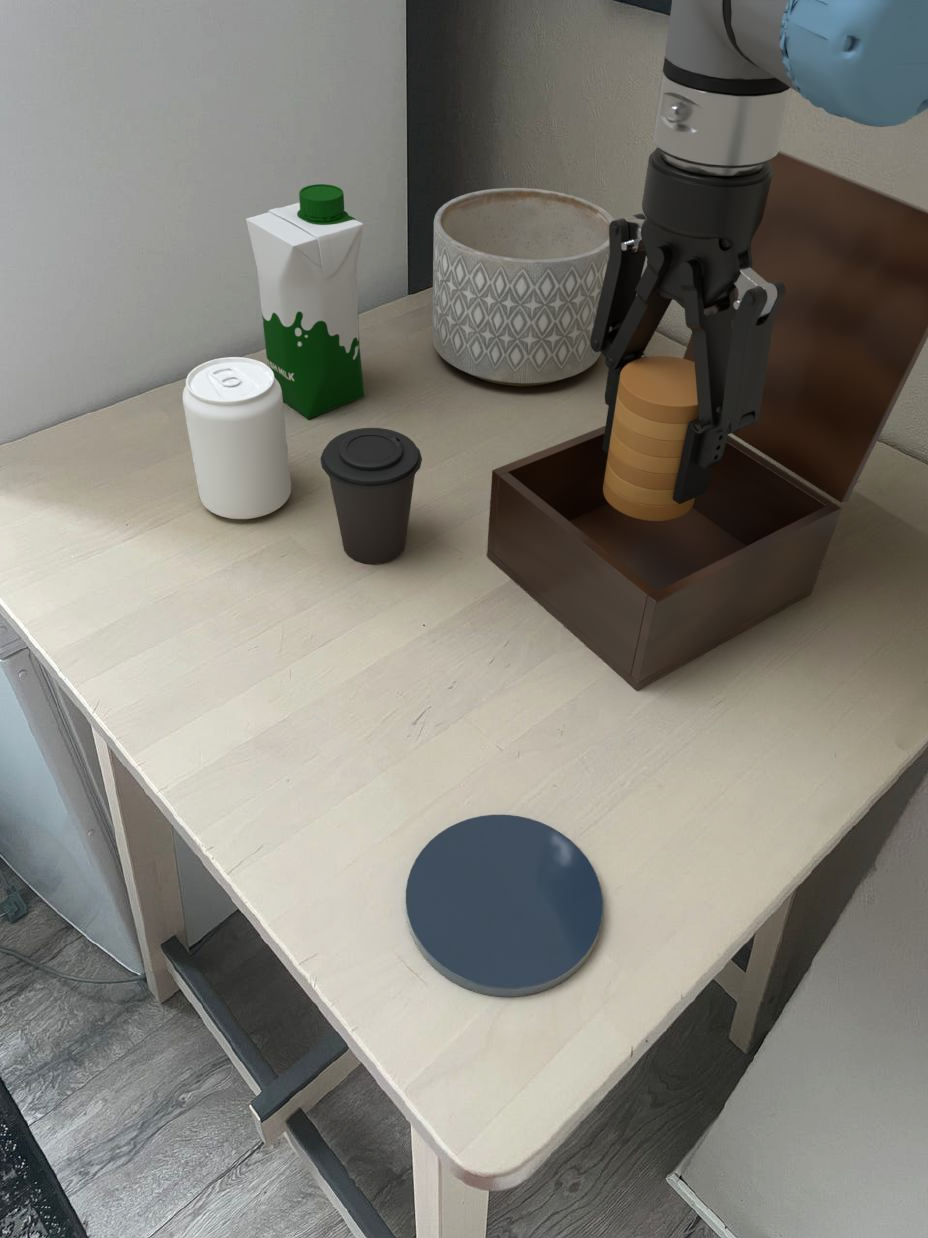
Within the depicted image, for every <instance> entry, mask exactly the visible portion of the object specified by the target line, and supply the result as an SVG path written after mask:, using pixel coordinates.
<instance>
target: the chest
mask: <svg viewBox="0 0 928 1238" xmlns="http://www.w3.org/2000/svg"><path fill="white" fill-rule="evenodd" d="M605 427H606V425H604V426H600V427H598V428H596V429H594V430H590V431H588V432H586V433H582V434H581V435H578V436H576V437H573V438H569V439H568V440H565V441H563V442H560V443H558V444H556V445H553V446H550V447H548V448H545V449H542V450H540V451H538V452H535V453H533V454H530V455H527V456H525V457H522V458H520V459H517V460H515V461H511V462H509V463H507V464H505V465H502V466H500V467H497V468H495V469H492V471H491V484H490V485H491V486H490V501H489V502H490V503H489V516H488V530H487V532H488V533H487V546H486V547H487V549H486V557H487V558H488V559H489V560H490V561H491V562H492V563H494V564H495V566H497V567H498V568H499V569H500V570H502V572H503V573H505V575H507V576H508V577H509V578H510V579H511V580H513V581H514V582H515V583H516V584H517V585H518V586H519V587H520V588H522V590H524V592H526V593H527V594H528V595H529V596H530V597H531V598H533V599H534V601H536V602H537V603H538V604H539V605H541V606H542V607H543V608H544V609H545V610H546V611H547V612H548V613H550V615H551V616H553V617H554V619H556V620H557V621H558V622H559V623H561V624H562V626H564V627H565V628H566V629H567V630H568V631H569V632H571V633H572V634H573V635H574V636H575V637H576V638H577V639H578V640H579V641H581V642H582V643H583V644H584V645H585V646H586V647H587V648H588V649H589V650H590V651H592V652H593V653H594V654H595V655H596V656H597V657H598V658H600V660H602V661H603V662H604V663H605V664H606V665H607V666H609V667H610V668H611V670H613V671H614V672H615V673H616V674H617V675H619V676H620V678H622V679H623V680H624V681H625V682H627V684H628V685H630V686H631V687H632V688H633V689H634V690H635V691H639V690H641V689H643V688H645V687H647V686H648V685H650V684H652V683H654V682H656V681H658V680H659V679H661V678H662V677H664V676H666V675H668V674H669V673H671V672H674V671H675V670H677V669H678V668H680V667H683V666H684V665H686V664H688V663H690V662H691V661H693V660H695V659H697V658H698V657H700V656H702V655H704V654H706V653H708V652H710V651H711V650H713V649H715V648H716V647H718V646H721V645H722V644H724V643H725V642H727V641H729V640H731V639H732V638H735V637H737V636H738V635H740V634H742V633H743V632H745V631H746V630H749V629H750V628H753V627H755V626H756V625H758V624H760V623H762V622H763V621H765V620H767V619H768V618H771V617H772V616H774V615H775V614H777V613H779V612H781V611H783V610H784V609H786V608H788V607H790V606H792V605H794V604H795V603H797V602H799V601H801V600H802V599H804V598H806V597H808V596H810V595H811V594H813V591H814V589H815V585H816V583H817V580H818V577H819V574H820V571H821V568H822V566H823V563H824V560H825V558H826V554H827V551H828V549H829V546H830V544H831V540H832V538H833V535H834V532H835V530H836V527H837V523H838V521H839V518H840V515H841V512H842V510H843V507H842V506H840V505H838V504H837V503H836V502H834V501H833V500H831V499H830V498H828V497H826V496H825V495H823V494H822V493H820V492H818V491H817V490H816V489H814V488H813V487H811V486H809V485H807V484H806V483H805V482H803V481H801V480H800V479H798V478H797V477H795V476H794V475H792V474H790V473H789V472H787V471H785V470H783V469H782V468H781V467H779V466H778V465H776V464H775V463H773V462H771V461H770V460H768V459H766V458H765V457H764V456H762V455H761V454H758V453H757V452H755V451H754V450H752V449H751V448H749V447H748V446H746V445H745V444H743V443H741V442H740V441H738V440H736V439H735V438H734V437H732V436H730V434H728V436H727V440H726V444H725V449H724V451H723V452H724V453H723V457H722V459H721V461H720V462H719V463H717V464H715V465H713V466H712V469H711V473H710V478H709V482H708V486H707V490H706V493H704V494H702V495H699V496H697V497H695V500H694V504H693V506H692V508H691V509H690V510H689V511H688V512H687V513H685V514H684V515H682V516H680V517H678V518H675V519H671V520H665V521H648V520H641V519H637V518H633V517H630V516H628V515H625V514H623V513H621V512H620V511H618V510H616V509H615V508H614V507H613V506H611V505H610V504H609V502H608V501H607V500H606V498H605V496H604V493H603V485H604V478H605V472H606V465H607V459H608V453H606V452H605V451H603V450H602V447H603V440H604V433H605Z"/></svg>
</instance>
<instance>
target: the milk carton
mask: <svg viewBox="0 0 928 1238" xmlns="http://www.w3.org/2000/svg"><path fill="white" fill-rule="evenodd" d="M298 192H299V193H298V197H299V198H298V199H299V202H296V203H293V204H289V205H286V206H282V207H275V208H271V209H269V210H268V211H267V212H265V213H261V214H258V215H254V216H251V217H247V218H245V222H246V226H247V230H248V234H249V238H250V243H251V248H252V252H253V257H254V262H255V265H256V272H257V280H258V281H257V282H258V289H259V299H260V308H261V316H262V327H263V337H264V345H265V354H266V365H267V366H268V367H270V369H271V370H272V371H273V373H274V377H275V378H276V380H277V381H278V382H279V384H280V386H281V390H282V398H283V403H285V404H286V405H287V406H289V407H290V408H292V409H293V410H294V411H296V412H298V413H299V414H300V415H302V416H303V417H305V418H306V419H307V420H310V419H313V418H315V417H318V416H320V415H322V414H325V413H327V412H330V411H332V410H335V409H337V408H340V407H341V406H344V405H346V404H349V403H352V402H354V401H356V400H359V399H361V398H364V397H365V387H364V377H363V376H364V375H363V368H362V367H363V366H362V357H361V345H360V344H361V343H360V321H359V320H360V319H359V294H358V293H359V291H358V260H359V254H360V249H361V243H362V236H363V230H364V223H362V222H361V221H358V220H357V219H356V218H355V217H353V216H352V215H349V213H348V212H347V211H345V198H344V191H343V189H341V187H339V186H336V185H332V184H326V183H318V184H310V185H307V186H304V187H302V188H301V189H300V190H299V191H298Z"/></svg>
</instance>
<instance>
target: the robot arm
mask: <svg viewBox="0 0 928 1238" xmlns="http://www.w3.org/2000/svg"><path fill="white" fill-rule="evenodd" d="M662 65H663V66H662V67H663V68H662V71H661V78H660V84H659V91H658V99H657V106H656V112H655V120H654V127H653V132H652V142H653V144H654V145H655V147H656V148H655V149H654V150H653V151H652V152H651V153H650V155H649V156H648V160H647V167H646V174H645V182H644V186H643V187H644V188H643V195H642V201H641V210H642V212H643V213H636V214H633V215H628V216H625V217H622V218H618V219H614V221H612V222H611V223H610V225H609V249H610V255H609V259H608V264H607V268H606V272H605V277H604V281H603V286H602V290H601V295H600V299H599V304H598V308H597V312H596V317H595V321H594V326H593V330H592V335H591V339H590V345H591V348H592V350H593V351H595V352H600V351H601V354H602V355H603V357H605V359H604V363H605V366H606V368H607V376H606V385H605V391H604V403H605V405H606V406H608V407H607V412H606V421H605V426H606V427H605V433H604V440H603V447H602V450H603V451H605V452H606V453H608V452H609V445H610V439H611V432H612V426H613V419H614V412H615V406H616V399H617V393H618V386H619V379H620V374H621V371H622V369H623V368H624V367H625V366H626V365H627V364H628V363H630V362H632V361H634V360H637V359H640V358H644V357H648V355H646V353H644V352H645V351H646V349H647V347H648V345H649V343H650V341H651V340H652V338H653V336H654V334H655V333H656V330H657V328H658V327H659V325H660V323H661V322H662V319H663V318H664V316H665V314H666V312H667V310H668V308H669V307H670V305H671V304H672V301H675V302H676V303H677V304H678V305H679V306H680V307H681V308H683V309H684V320H685V326H686V327H687V328H688V329H689V330H691V335H692V338H693V350H694V363H695V375H696V388H697V400H698V413H699V418H698V419H695V420H693V421H691V422H688V427H687V432H686V437H685V442H684V446H683V451H682V456H681V461H680V466H679V470H678V475H677V480H676V485H675V490H674V494H673V500H674V501H675V502H677V503H678V504H682V503H684V502H686V501H688V500H691V499H693V498H695V497H697V496H699V495H702V494H704V493H706V490H707V486H708V482H709V478H710V473H711V469H712V466H713V465H715V464H717V463H719V462H720V461H721V459H722V457H723V453H724V452H723V451H724V449H725V444H726V440H727V436H728V435H731V434H732V433H734V432H736V431H738V430H741V429H743V428H746V427H748V426H750V425H753V424H755V423H757V422H758V420H759V415H760V409H761V402H762V395H763V388H764V382H765V375H766V368H767V361H768V354H769V348H770V341H771V334H772V327H773V321H774V317H775V315H776V313H777V311H778V309H779V307H780V305H781V303H782V301H783V298H784V296H785V293H786V288H785V285H784V284H783V282H781V281H779V280H776V281H773V282H770V283H768V282H767V281H765V280H764V279H763V278H762V277H761V276H759V275H758V274H757V273H756V272H755V271H754V270H752V257H751V241H752V238H753V236H754V234H755V232H756V230H757V229H758V227H759V225H760V223H761V221H762V219H763V215H764V211H765V206H766V202H767V197H768V193H769V189H770V184H771V180H772V176H773V168H772V166H771V164H770V162H769V160H771V159H772V158H774V157H775V156H776V155H777V154H778V152H779V151H780V148H781V143H782V138H783V135H784V129H785V125H786V122H787V121H786V120H787V117H788V112H789V107H790V102H791V97H792V94H793V93H792V92H793V91H795V92H797V93H798V94H800V96H801V97H802V98H803V99H804V100H808V101H809V102H810V104H811V105H812V106H813V107H815V108H820V109H821V108H822V109H823V110H824V111H825V112H826V113H827V114H829V115H831V116H835V117H839V118H845V119H847V120H849V121H852V122H855V123H857V124H858V125H859V124H860V125H863V126H867V127H875V128H876V127H877V128H885V127H895V126H900V125H902V124H906V123H907V122H909V121H910V120H913V118H914V117H916V116H918V115H920V114H921V113H923V112H924V111H926V110H928V0H671V8H670V13H669V20H668V29H667V35H666V44H665V51H664V59H663V64H662ZM645 262H646V267H645ZM644 267H645V269H644ZM735 288H737V289H738V300H735ZM715 305H716V306H715ZM712 306H715V308H714V309H711V310H708V311H705V312H704V309H707V308H710V307H712ZM736 310H737V312H736ZM735 314H736V315H735ZM734 317H735V318H734ZM733 318H734V321H733V326H732V320H733ZM718 406H719V407H718Z"/></svg>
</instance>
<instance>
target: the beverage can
mask: <svg viewBox="0 0 928 1238" xmlns="http://www.w3.org/2000/svg"><path fill="white" fill-rule="evenodd" d="M182 404H183V410H184V416H185V422H186V427H187V434H188V439H189V444H190V450H191V456H192V457H191V458H192V461H193V467H194V474H195V479H196V484H197V491H198V496H199V500H200V502H201V504H202V506H204V507H205V509H206V510H208V511H209V512H211V513H212V514H214V515H217V516H219V517H222V518H226V519H232V520H249V519H256V518H261V517H263V516H267V515H269V514H272V513H273V512H275V511H277V510H278V509H280V508H281V507H283V505H285V504H286V502H287V501H288V500H289V498H290V496H291V493H292V482H291V481H292V480H291V471H290V460H289V450H288V440H287V429H286V420H285V418H286V417H285V410H284V408H285V407H284V402H283V398H282V390H281V386H280V384H279V382H278V381H277V380H276V378H275V377H274V373H273V371H272V370H271V369H270V367H268V366H267V363H264V362H262V361H259V360H257V359H254V358H248V357H243V356H242V357H240V356H227V357H220V358H215V359H211V360H208V361H205V362H203V363H201V364H199V365H197V366H196V367H194V368H193V369H192V370H190V371H189V372H188V374H187V376H186V379H185V386H184V388H183V391H182Z"/></svg>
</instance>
